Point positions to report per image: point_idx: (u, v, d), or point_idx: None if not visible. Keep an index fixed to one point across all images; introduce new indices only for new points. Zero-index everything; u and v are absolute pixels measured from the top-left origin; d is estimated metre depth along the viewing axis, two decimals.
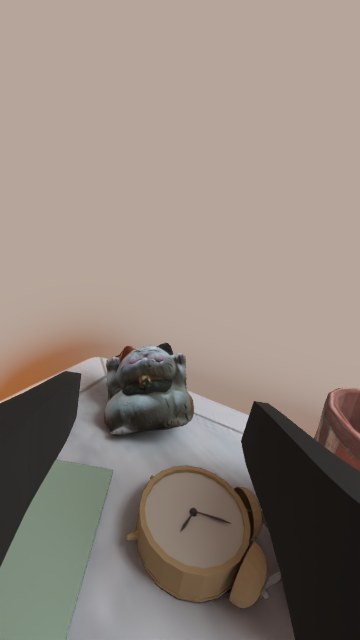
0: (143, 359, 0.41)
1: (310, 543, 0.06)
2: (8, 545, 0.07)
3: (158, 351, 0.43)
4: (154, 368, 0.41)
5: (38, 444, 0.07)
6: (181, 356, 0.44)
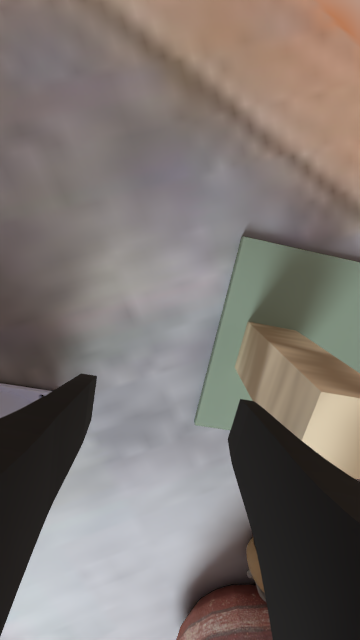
0: None
1: (287, 541, 0.06)
2: (32, 547, 0.07)
3: None
4: None
5: (60, 447, 0.07)
6: None
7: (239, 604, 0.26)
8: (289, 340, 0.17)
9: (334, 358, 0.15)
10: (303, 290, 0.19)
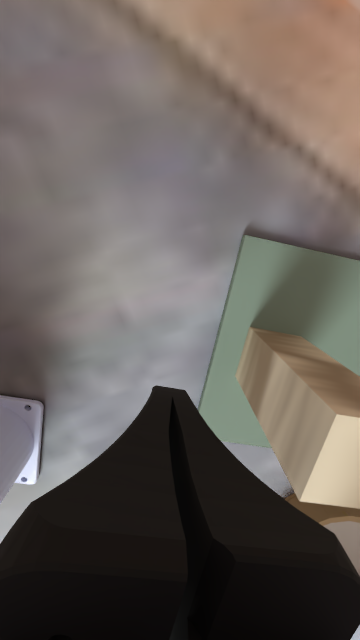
0: None
1: None
2: None
3: None
4: None
5: None
6: None
7: None
8: (295, 348, 0.16)
9: (345, 369, 0.14)
10: (310, 293, 0.18)
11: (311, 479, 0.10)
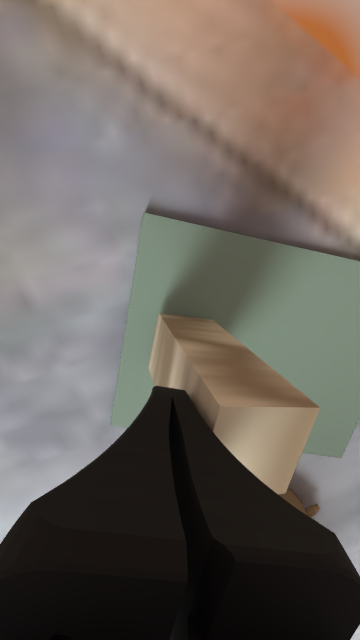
0: None
1: None
2: None
3: None
4: None
5: None
6: None
7: None
8: (201, 333, 0.15)
9: (247, 351, 0.13)
10: (217, 274, 0.17)
11: None
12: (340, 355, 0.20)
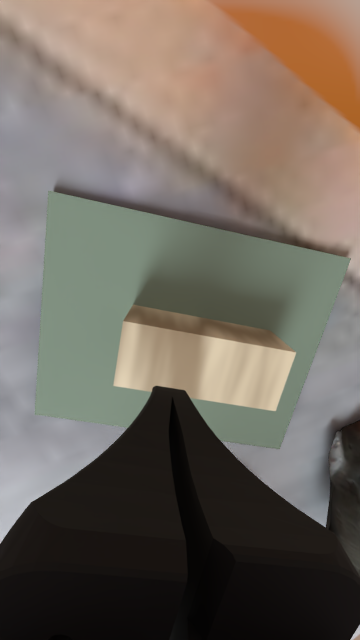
0: None
1: None
2: None
3: None
4: None
5: None
6: None
7: None
8: (180, 321, 0.16)
9: (208, 319, 0.18)
10: (132, 256, 0.17)
11: (280, 394, 0.16)
12: None
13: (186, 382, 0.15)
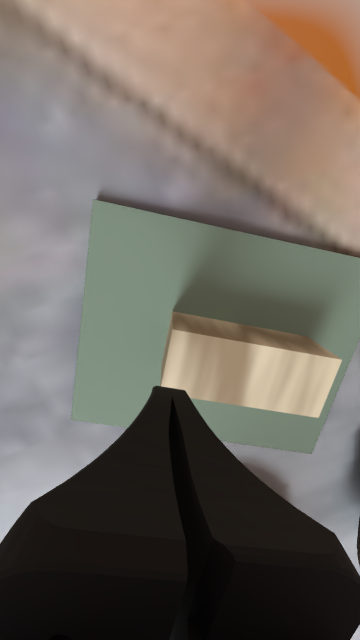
0: None
1: None
2: None
3: None
4: None
5: None
6: None
7: None
8: (223, 329, 0.16)
9: (246, 326, 0.18)
10: (173, 263, 0.17)
11: (323, 401, 0.16)
12: None
13: (231, 389, 0.15)
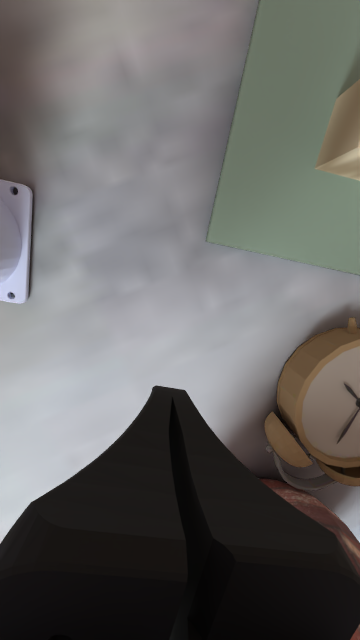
0: None
1: None
2: None
3: None
4: None
5: None
6: None
7: None
8: None
9: None
10: (348, 33, 0.15)
11: None
12: None
13: None
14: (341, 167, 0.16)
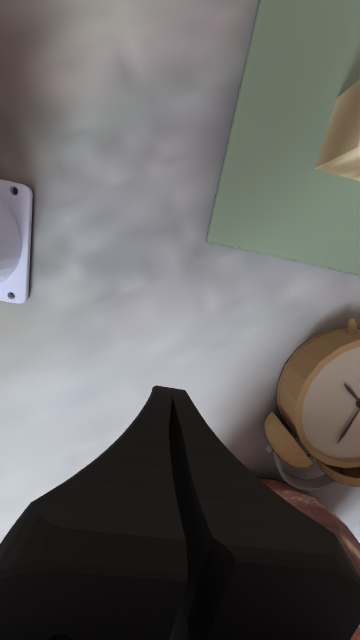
0: None
1: None
2: None
3: None
4: None
5: None
6: None
7: None
8: None
9: None
10: (348, 33, 0.15)
11: None
12: None
13: None
14: (341, 166, 0.16)
